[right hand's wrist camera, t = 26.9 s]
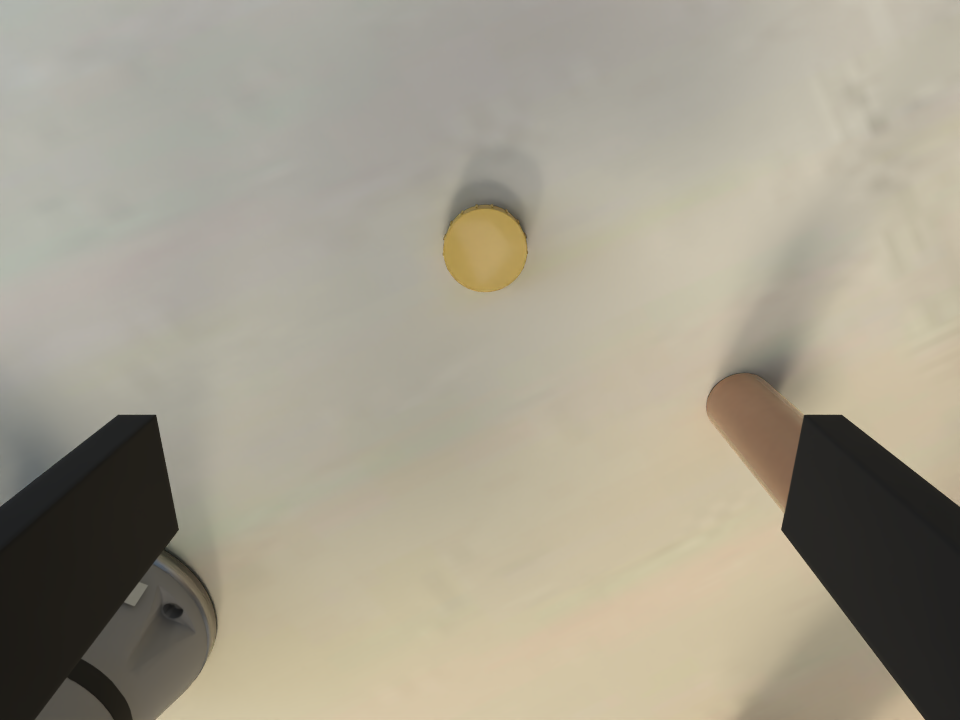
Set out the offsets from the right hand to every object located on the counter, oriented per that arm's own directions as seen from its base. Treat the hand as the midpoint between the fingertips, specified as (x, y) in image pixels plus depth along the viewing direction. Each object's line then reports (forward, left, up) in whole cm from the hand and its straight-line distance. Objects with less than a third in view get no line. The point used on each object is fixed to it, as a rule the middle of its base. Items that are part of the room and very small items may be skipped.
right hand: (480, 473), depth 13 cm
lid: (0, 0, -25) cm, 25 cm away
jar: (-3, -20, -26) cm, 33 cm away
